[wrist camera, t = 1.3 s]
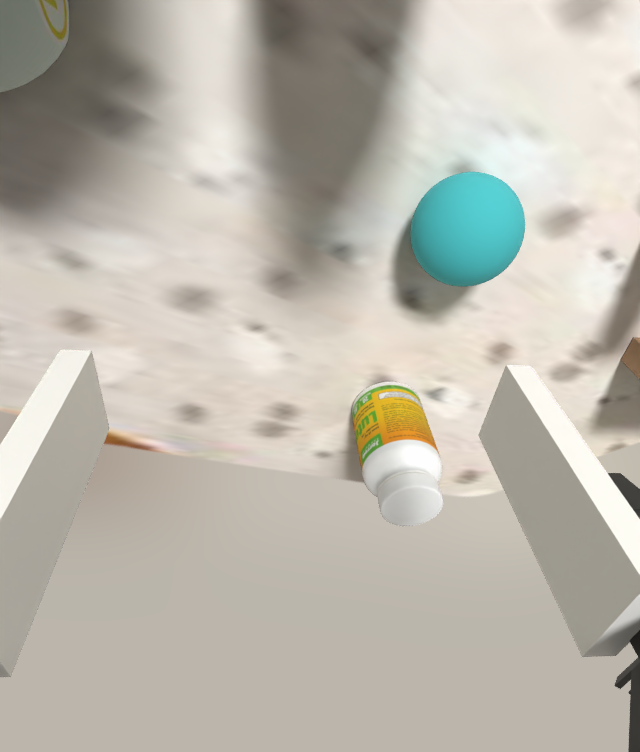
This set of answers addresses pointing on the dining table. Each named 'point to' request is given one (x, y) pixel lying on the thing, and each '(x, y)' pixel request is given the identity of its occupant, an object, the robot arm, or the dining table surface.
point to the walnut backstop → (633, 357)
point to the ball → (467, 229)
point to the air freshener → (30, 39)
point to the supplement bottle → (398, 453)
